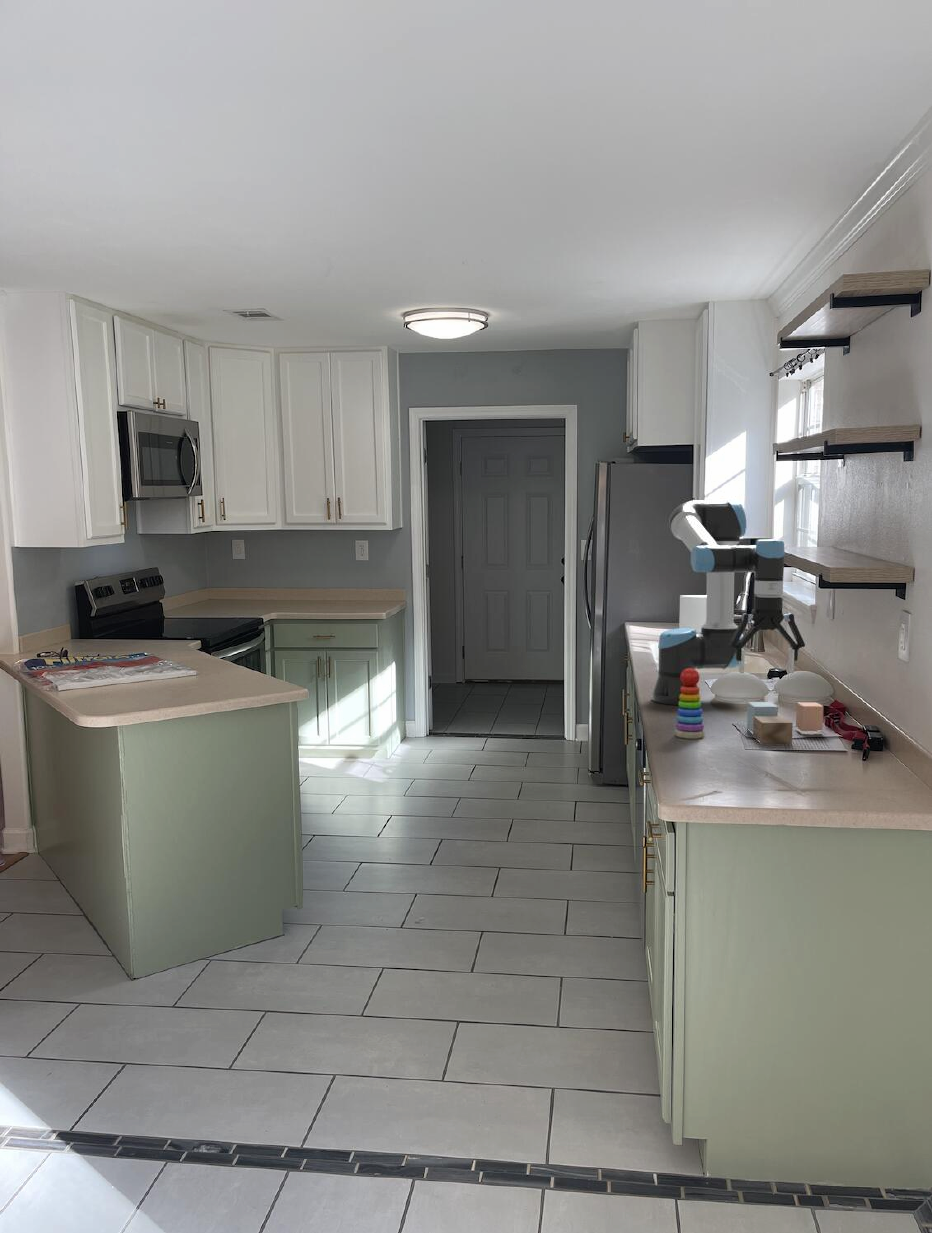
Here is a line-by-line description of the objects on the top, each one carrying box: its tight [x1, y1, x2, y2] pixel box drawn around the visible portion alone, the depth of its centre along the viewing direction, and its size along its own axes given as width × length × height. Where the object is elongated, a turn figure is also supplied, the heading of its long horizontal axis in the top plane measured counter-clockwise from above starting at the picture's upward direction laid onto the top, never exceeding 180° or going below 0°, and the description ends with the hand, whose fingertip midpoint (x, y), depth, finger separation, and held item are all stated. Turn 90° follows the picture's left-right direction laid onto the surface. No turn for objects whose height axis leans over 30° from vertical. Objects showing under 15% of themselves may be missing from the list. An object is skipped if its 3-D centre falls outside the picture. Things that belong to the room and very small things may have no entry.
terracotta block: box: [795, 701, 824, 731], centre depth 268 cm, size 6×6×8 cm
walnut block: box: [752, 715, 794, 746], centre depth 259 cm, size 8×8×6 cm
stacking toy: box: [674, 668, 706, 740], centre depth 263 cm, size 8×8×19 cm
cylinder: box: [678, 594, 707, 633], centre depth 387 cm, size 17×17×28 cm
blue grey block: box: [746, 701, 779, 732], centre depth 268 cm, size 6×6×8 cm
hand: (766, 672), depth 267 cm, fingers open, 13 cm apart
